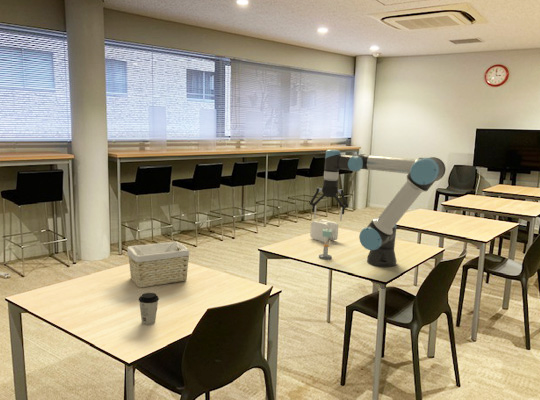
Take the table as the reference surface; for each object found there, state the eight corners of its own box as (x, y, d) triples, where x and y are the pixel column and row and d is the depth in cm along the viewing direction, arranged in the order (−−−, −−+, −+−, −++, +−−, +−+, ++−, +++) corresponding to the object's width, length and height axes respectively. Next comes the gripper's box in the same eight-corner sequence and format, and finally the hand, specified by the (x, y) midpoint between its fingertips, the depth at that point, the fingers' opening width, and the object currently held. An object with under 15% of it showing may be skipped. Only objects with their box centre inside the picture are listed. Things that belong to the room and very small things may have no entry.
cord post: (331, 256, 262) (333, 228, 259) (331, 260, 255) (333, 231, 252) (319, 255, 263) (321, 227, 260) (318, 259, 256) (320, 230, 253)
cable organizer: (308, 238, 299) (309, 219, 297) (320, 236, 306) (321, 218, 304) (326, 243, 288) (327, 224, 286) (338, 241, 295) (339, 223, 293)
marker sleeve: (330, 235, 259) (331, 229, 258) (330, 237, 254) (331, 231, 254) (322, 234, 259) (323, 229, 259) (322, 236, 255) (322, 231, 254)
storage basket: (135, 289, 200) (135, 255, 197) (125, 277, 213) (125, 245, 211) (190, 282, 212) (191, 249, 209) (177, 271, 226) (178, 240, 223)
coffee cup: (142, 328, 165) (142, 300, 163) (135, 320, 170) (135, 293, 169) (161, 323, 169) (162, 296, 167) (154, 316, 175) (154, 290, 173)
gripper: (354, 180, 254) (351, 219, 257) (307, 176, 257) (304, 215, 261) (355, 182, 246) (351, 222, 250) (306, 178, 249) (303, 218, 253)
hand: (327, 219), depth 255 cm, fingers open, 13 cm apart
